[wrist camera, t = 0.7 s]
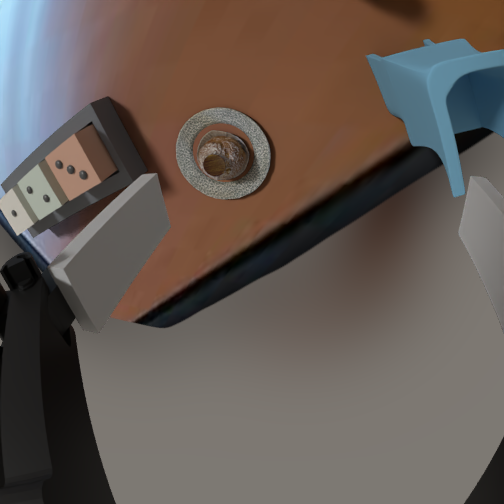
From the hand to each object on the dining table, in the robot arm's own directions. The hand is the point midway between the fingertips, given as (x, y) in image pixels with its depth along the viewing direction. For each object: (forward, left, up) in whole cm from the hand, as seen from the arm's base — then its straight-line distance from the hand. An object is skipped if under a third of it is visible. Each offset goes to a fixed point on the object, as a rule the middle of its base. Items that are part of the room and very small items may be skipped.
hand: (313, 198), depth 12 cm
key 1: (-6, -47, -21) cm, 52 cm away
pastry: (+2, -13, -26) cm, 29 cm away
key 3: (-6, -29, -22) cm, 37 cm away
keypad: (-6, -38, -25) cm, 46 cm away
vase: (0, +11, -25) cm, 27 cm away
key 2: (-6, -38, -21) cm, 44 cm away
